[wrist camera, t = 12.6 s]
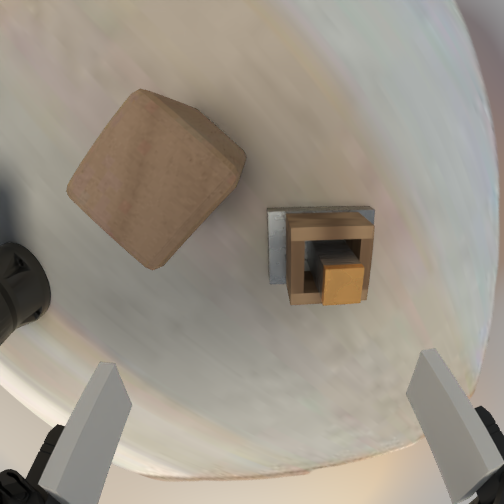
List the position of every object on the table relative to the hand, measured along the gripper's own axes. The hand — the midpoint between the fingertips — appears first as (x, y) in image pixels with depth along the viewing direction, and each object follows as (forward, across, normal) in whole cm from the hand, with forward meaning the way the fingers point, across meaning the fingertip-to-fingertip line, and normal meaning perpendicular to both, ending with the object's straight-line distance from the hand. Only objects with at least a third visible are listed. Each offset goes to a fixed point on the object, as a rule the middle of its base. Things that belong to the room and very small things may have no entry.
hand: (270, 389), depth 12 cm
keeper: (+31, +8, -5) cm, 32 cm away
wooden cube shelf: (+29, +8, -5) cm, 30 cm away
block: (+31, -8, +7) cm, 33 cm away
